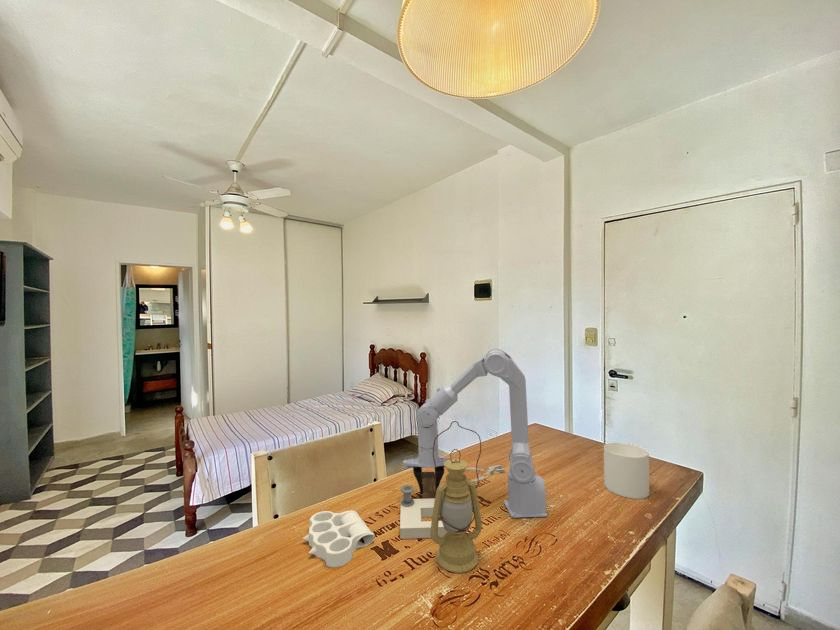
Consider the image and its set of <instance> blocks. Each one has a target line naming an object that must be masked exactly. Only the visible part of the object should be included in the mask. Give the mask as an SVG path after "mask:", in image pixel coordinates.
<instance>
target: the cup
mask: <svg viewBox="0 0 840 630" xmlns="http://www.w3.org/2000/svg"><path fill="white" fill-rule="evenodd" d="M603 474H604V475H603V483H604V484H603V485H604V487H605V489H606V490H608V491H609V492H610V493H612V494H614V495H617V496H619V497H623V498H627V499H632V500H642V499H646V498H648V497H649V496H650V454H649V451H648V450H646V449H645V448H644V447H640V446H639V445H634V444H630V443H626V442H608V443H606V444H604V445H603Z"/></svg>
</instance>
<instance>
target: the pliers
mask: <svg viewBox="0 0 840 630" xmlns="http://www.w3.org/2000/svg"><path fill="white" fill-rule="evenodd" d="M477 468H478V469H477V470H479V468H480V467H477ZM498 468H501V469H498ZM466 469H471V470H473V469H474V470H473V471H475V470H476V467H467V468H466ZM466 469H465V471H467V470H466ZM480 469H481V471H482V470H483V469H484V468H480ZM495 469H496V470H495ZM471 470H470V471H471ZM473 471H472V472H473ZM483 471H484V470H483ZM494 471H496V472H504V471H505V472H506V468H502V465H501V464H498V465H497V464H496V465H492V466H491V465H490V466H488V470H487V472H484V474H491V473H493V472H494ZM477 472H479V471H477ZM481 474H482V475H481ZM480 475H481V476H480ZM486 477H487V476H486ZM478 478H479V482H481V481H480V480H482V479H485V478H484V476H483V472H482V473H479V474H478ZM478 478H475V479H471V480H472V481H473V482H474V483H476V482H475V481H478ZM485 480H486V479H485ZM482 481H483V480H482Z"/></svg>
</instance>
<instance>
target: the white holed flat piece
mask: <svg viewBox="0 0 840 630" xmlns="http://www.w3.org/2000/svg"><path fill="white" fill-rule="evenodd" d="M308 521H309V528H308V533H307V534H306V535H305V536H303V537H302V538H301V539H302V540H304V541H307V542H308V546H309V547H311V549H310V551H309V552H308V554H309V555H314V556H315V557H316V558H318V559H322V560H323V561H324V562H325V566H327V567H329V568H340V567H343V566H345V565H347V564H348V563H349V562H350V561H352V558H353V553H354V551H355V550H358V549H360V548H364V547H366V546H369V545H370V544H372V543H373V542H374V541H375V534H374V532H372V531H371V530H370V528H369V527H368V526H367V525H366V522H365V521H364V520H363V519H362V518H361V517H360V515H359V514H358V512H357V511H356V510H352V509H351V510H345V511H342V512H340V513H339V512H338V513H337V512H335V513H334V512H333V511H329V510H322V511H318V512H316V513H314V514H313V515H311V517H310V518H309V520H308ZM361 539H362V540H363V542H364V543H363V542H362V541H361Z"/></svg>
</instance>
